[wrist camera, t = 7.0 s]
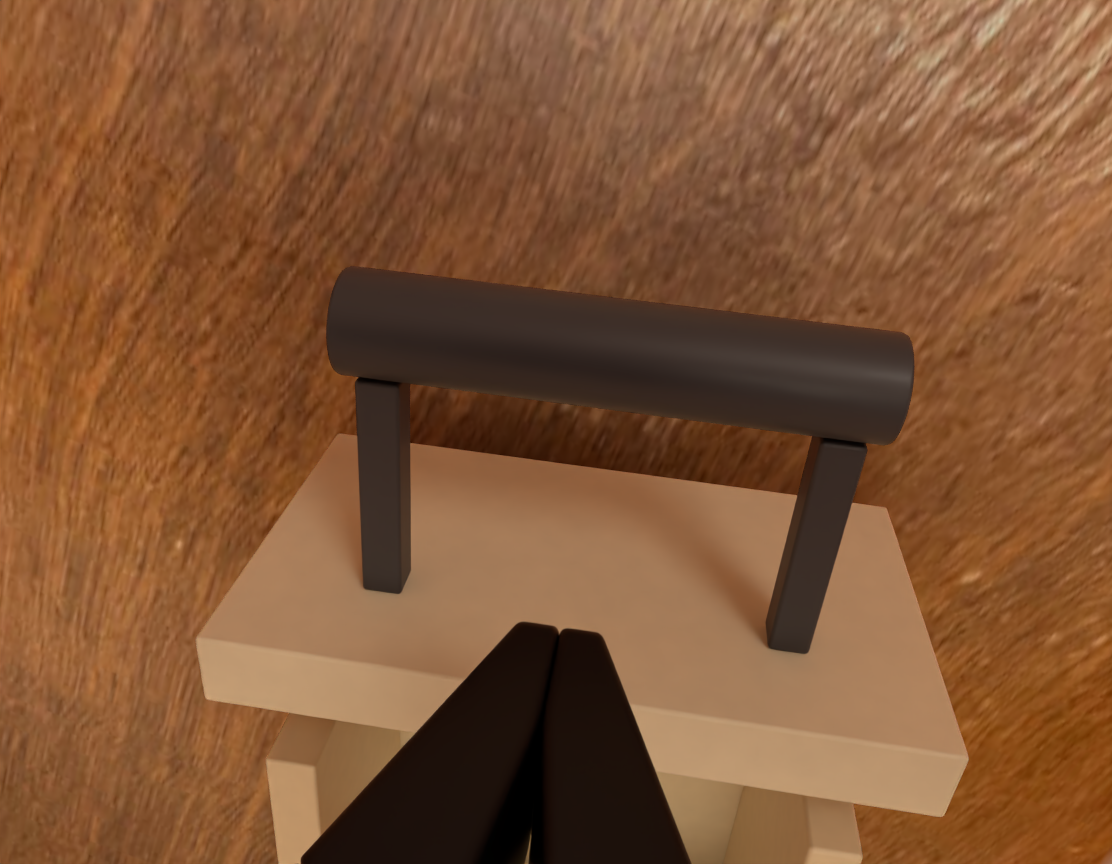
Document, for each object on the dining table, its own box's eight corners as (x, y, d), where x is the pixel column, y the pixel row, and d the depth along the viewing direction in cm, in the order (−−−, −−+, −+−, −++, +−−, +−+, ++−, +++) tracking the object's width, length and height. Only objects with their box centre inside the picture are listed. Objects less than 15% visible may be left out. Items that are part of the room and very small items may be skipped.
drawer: (323, 175, 15) (137, 304, 10) (968, 247, 14) (1118, 428, 9) (358, 845, 24) (268, 1093, 19) (759, 913, 23) (777, 1192, 18)
